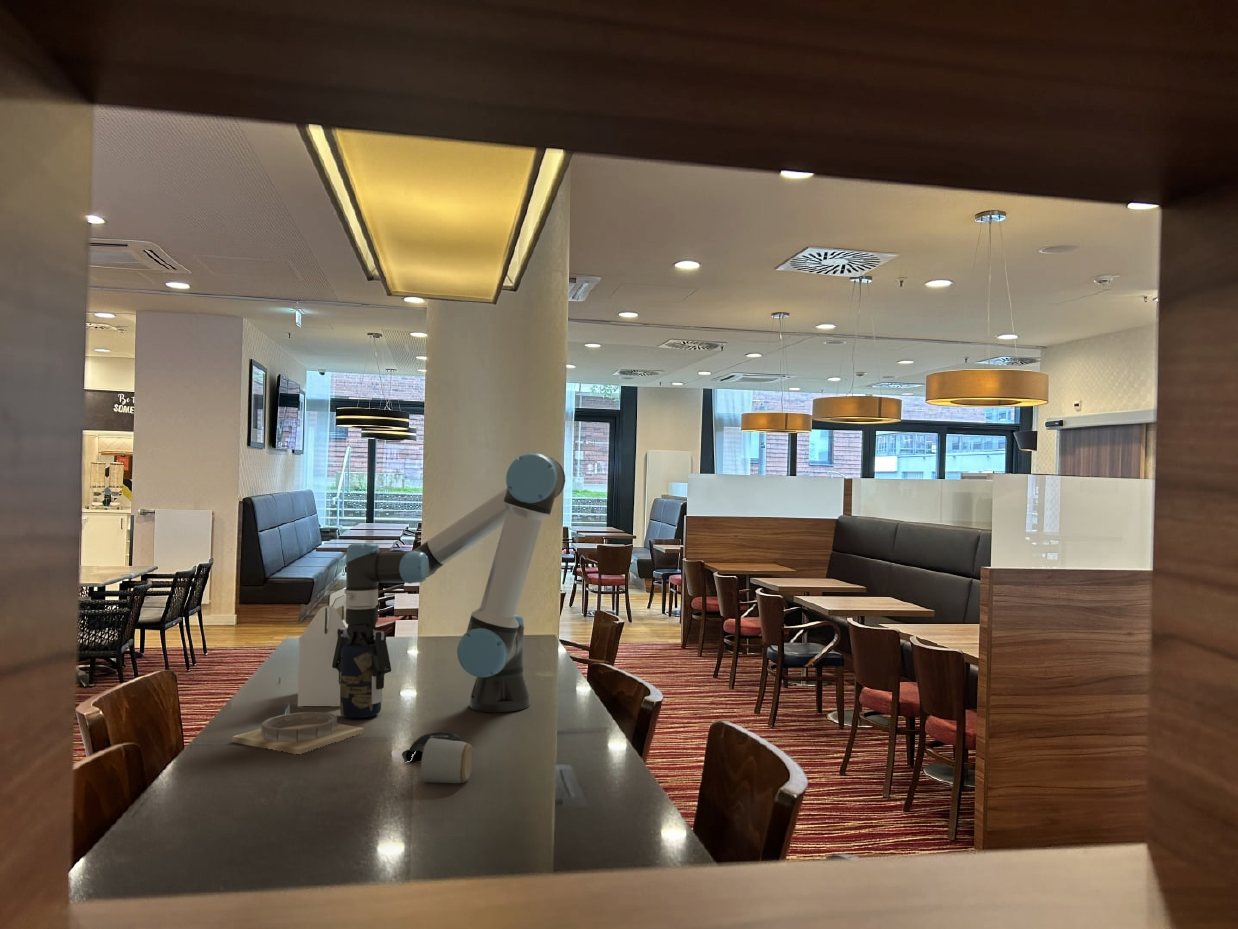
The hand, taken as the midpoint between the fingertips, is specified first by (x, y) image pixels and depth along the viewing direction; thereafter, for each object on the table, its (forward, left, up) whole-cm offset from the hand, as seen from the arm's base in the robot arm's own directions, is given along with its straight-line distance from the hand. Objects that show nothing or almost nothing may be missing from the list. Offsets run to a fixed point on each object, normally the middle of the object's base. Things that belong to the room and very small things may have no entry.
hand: (360, 700), depth 199 cm
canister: (0, 0, -4) cm, 4 cm away
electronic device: (-35, +15, -4) cm, 38 cm away
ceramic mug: (-48, +27, -4) cm, 55 cm away
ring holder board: (-2, +20, -4) cm, 21 cm away
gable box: (+21, -12, -4) cm, 25 cm away
